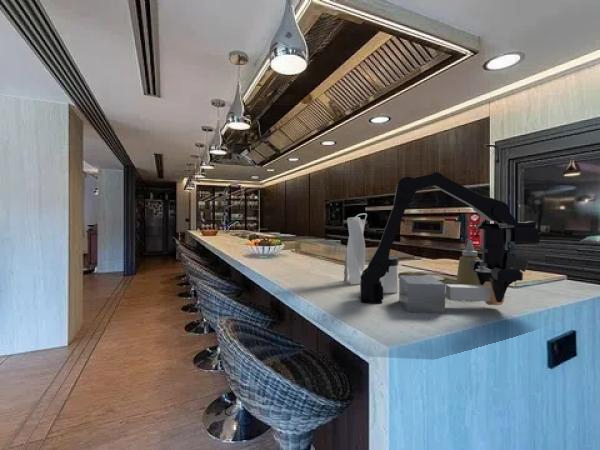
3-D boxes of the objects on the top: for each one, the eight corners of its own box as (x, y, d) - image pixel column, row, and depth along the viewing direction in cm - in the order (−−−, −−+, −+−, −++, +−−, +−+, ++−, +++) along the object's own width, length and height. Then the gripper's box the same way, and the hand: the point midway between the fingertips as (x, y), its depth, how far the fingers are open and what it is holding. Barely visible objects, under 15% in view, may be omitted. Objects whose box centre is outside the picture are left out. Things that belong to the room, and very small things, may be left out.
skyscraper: (363, 281, 132) (364, 213, 131) (368, 285, 124) (369, 213, 123) (343, 281, 131) (343, 213, 130) (347, 285, 123) (347, 213, 122)
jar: (403, 291, 114) (404, 257, 113) (390, 294, 108) (390, 259, 108) (382, 286, 120) (383, 255, 120) (368, 290, 115) (369, 256, 115)
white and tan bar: (451, 306, 91) (452, 283, 90) (443, 300, 97) (444, 278, 97) (504, 308, 89) (504, 284, 89) (492, 301, 96) (493, 279, 95)
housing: (407, 312, 89) (407, 283, 89) (399, 300, 101) (399, 275, 101) (444, 313, 88) (445, 284, 88) (431, 301, 100) (432, 276, 100)
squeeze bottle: (468, 295, 108) (469, 241, 108) (451, 289, 116) (452, 240, 115) (487, 293, 110) (488, 241, 110) (469, 288, 118) (470, 239, 118)
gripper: (545, 249, 82) (543, 309, 82) (506, 242, 100) (505, 291, 101) (499, 248, 83) (497, 308, 83) (469, 242, 101) (468, 290, 102)
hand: (493, 298), depth 92 cm, fingers closed on white and tan bar, 6 cm apart
